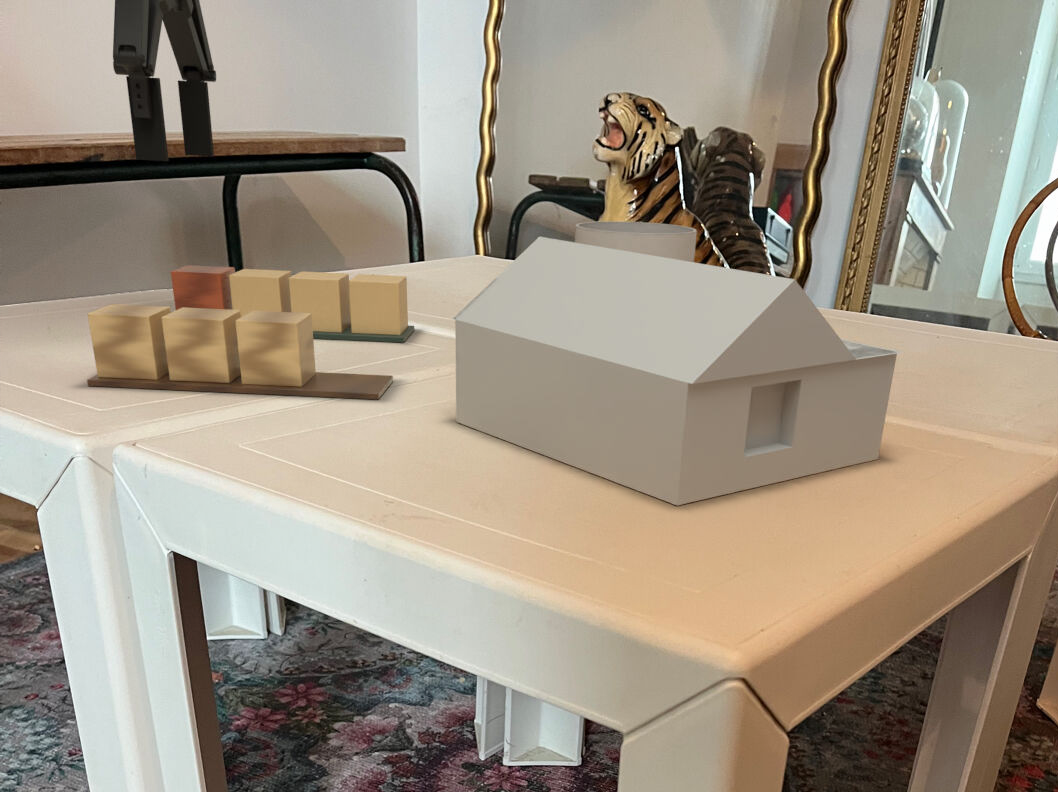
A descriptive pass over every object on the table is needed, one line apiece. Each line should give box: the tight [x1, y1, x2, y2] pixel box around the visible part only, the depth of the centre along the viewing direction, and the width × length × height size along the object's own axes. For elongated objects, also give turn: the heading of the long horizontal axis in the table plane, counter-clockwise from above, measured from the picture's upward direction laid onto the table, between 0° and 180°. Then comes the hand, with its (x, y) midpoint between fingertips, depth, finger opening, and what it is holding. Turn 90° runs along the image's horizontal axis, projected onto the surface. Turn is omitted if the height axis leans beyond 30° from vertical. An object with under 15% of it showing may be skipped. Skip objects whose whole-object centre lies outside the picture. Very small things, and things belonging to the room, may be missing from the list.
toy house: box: [452, 236, 905, 506], centre depth 81 cm, size 25×21×13 cm
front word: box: [86, 303, 394, 400], centre depth 94 cm, size 24×7×6 cm, turn 88°
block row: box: [229, 268, 415, 344], centre depth 115 cm, size 24×7×6 cm, turn 88°
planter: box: [574, 220, 698, 263], centre depth 121 cm, size 13×13×10 cm
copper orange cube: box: [170, 264, 236, 311], centre depth 115 cm, size 5×5×5 cm
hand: (177, 158), depth 108 cm, fingers open, 13 cm apart
